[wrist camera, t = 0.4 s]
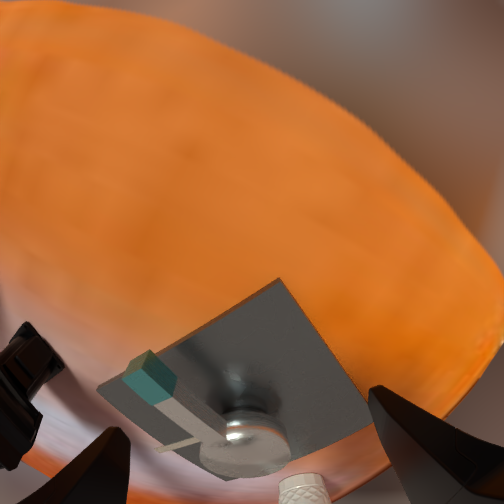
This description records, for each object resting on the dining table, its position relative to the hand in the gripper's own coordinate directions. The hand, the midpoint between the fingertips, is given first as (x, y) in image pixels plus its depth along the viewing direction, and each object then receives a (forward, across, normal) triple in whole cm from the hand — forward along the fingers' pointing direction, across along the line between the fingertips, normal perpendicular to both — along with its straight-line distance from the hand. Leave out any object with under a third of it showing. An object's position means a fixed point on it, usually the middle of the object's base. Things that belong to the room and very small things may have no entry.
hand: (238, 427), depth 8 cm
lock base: (+13, +3, +15) cm, 20 cm away
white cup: (+14, -1, +35) cm, 37 cm away
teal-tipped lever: (+11, +5, +11) cm, 16 cm away
